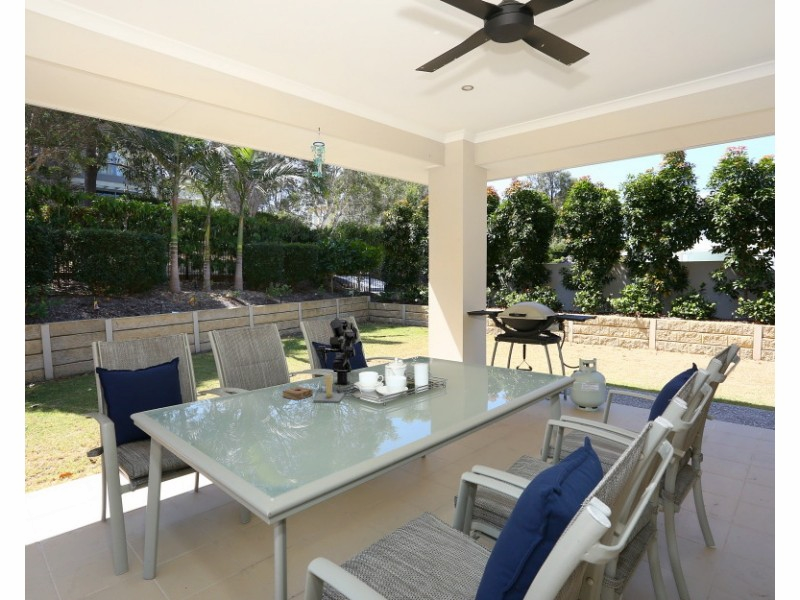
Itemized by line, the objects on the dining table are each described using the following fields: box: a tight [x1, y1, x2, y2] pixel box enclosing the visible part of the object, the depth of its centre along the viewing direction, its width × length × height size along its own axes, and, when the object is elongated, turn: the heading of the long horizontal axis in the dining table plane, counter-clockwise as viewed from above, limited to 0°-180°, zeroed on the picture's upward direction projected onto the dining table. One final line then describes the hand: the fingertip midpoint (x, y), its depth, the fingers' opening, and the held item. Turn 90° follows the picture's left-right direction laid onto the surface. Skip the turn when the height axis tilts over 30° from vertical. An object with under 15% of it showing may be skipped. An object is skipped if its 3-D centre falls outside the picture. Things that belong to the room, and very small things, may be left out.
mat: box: [313, 392, 345, 404], centre depth 218 cm, size 12×12×1 cm
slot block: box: [282, 386, 314, 401], centre depth 223 cm, size 10×10×3 cm
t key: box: [324, 374, 334, 398], centre depth 218 cm, size 5×2×10 cm, turn 177°
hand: (333, 365), depth 229 cm, fingers open, 9 cm apart
